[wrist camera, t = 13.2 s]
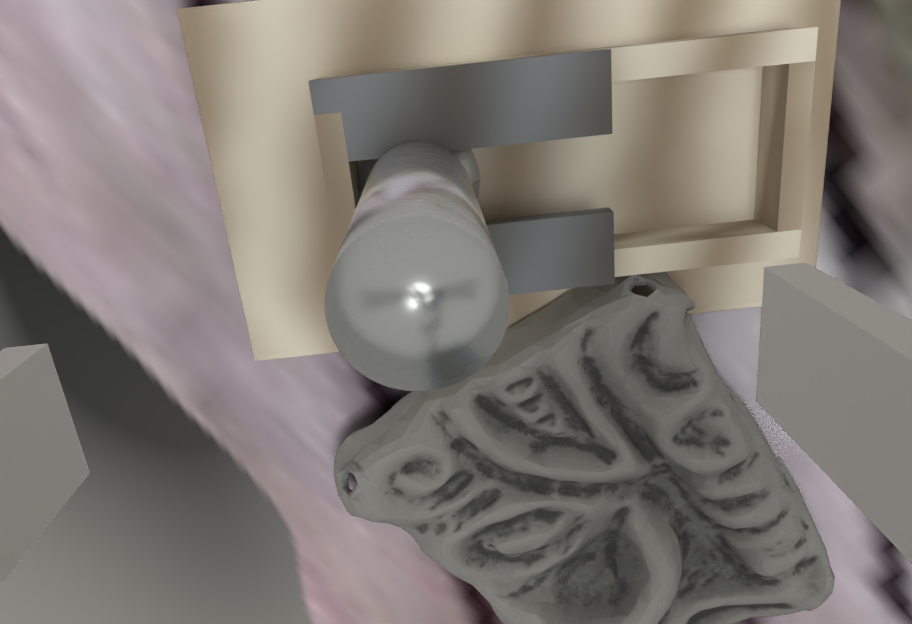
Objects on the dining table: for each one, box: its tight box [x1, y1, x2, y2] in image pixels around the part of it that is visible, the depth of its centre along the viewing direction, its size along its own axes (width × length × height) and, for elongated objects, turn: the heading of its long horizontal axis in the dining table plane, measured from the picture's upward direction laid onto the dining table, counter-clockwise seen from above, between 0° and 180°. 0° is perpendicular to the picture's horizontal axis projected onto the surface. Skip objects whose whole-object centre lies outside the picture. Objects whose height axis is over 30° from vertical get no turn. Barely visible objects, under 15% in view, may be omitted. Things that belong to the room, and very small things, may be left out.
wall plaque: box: [334, 272, 835, 624], centre depth 35 cm, size 23×19×4 cm
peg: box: [324, 141, 510, 391], centre depth 22 cm, size 5×5×16 cm
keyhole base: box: [177, 0, 841, 361], centre depth 29 cm, size 26×15×4 cm, turn 96°
